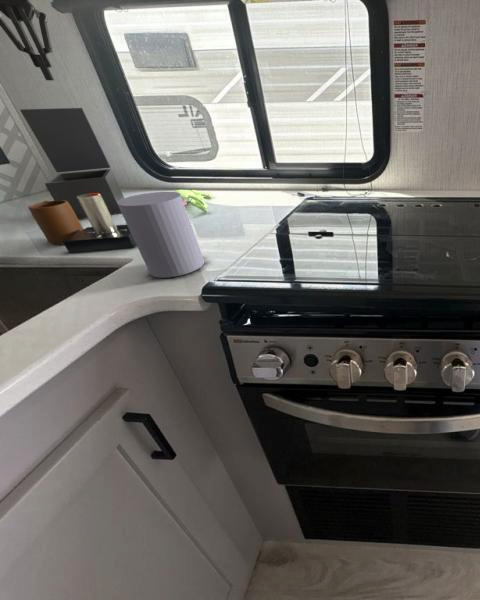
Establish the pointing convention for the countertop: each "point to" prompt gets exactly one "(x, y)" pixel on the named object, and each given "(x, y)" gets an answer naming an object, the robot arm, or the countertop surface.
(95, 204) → the cream silver cylinder
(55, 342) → the countertop surface
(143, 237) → the container
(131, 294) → the countertop surface
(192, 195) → the figurine
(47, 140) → the lid
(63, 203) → the mug
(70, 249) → the panel
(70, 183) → the dark grey box
